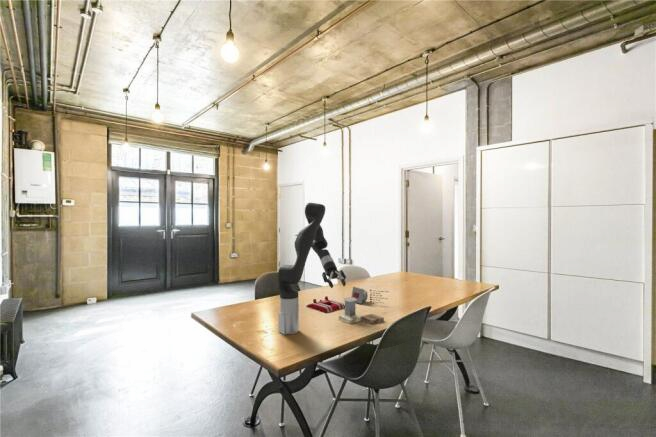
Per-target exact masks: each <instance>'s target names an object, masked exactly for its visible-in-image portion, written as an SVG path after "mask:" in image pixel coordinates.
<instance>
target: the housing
mask: <svg viewBox="0 0 656 437" xmlns="http://www.w3.org/2000/svg"><path fill="white" fill-rule="evenodd" d="M343 301H344V305H345V308H344V314H343V315H344V316H345V317H347V318H354V317H357V312H356V302H355V301H356V298H352V296H349V297H344V298H343Z"/></svg>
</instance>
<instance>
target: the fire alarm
mask: <svg viewBox="0 0 656 437" xmlns="http://www.w3.org/2000/svg"><path fill="white" fill-rule="evenodd" d="M312 302H313V303H309V304H307V305H305V307H306V308H309V309H311V310H315V311H319V312H322V313H325V314H329V313H331V312H335V311H340V310H343V309H344V310H345V303H343V302H341V301H336V300H333V299H329V297H328V296H324V300H322V299H319V301H317V299H316V298H314V299H313V300H312Z"/></svg>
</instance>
